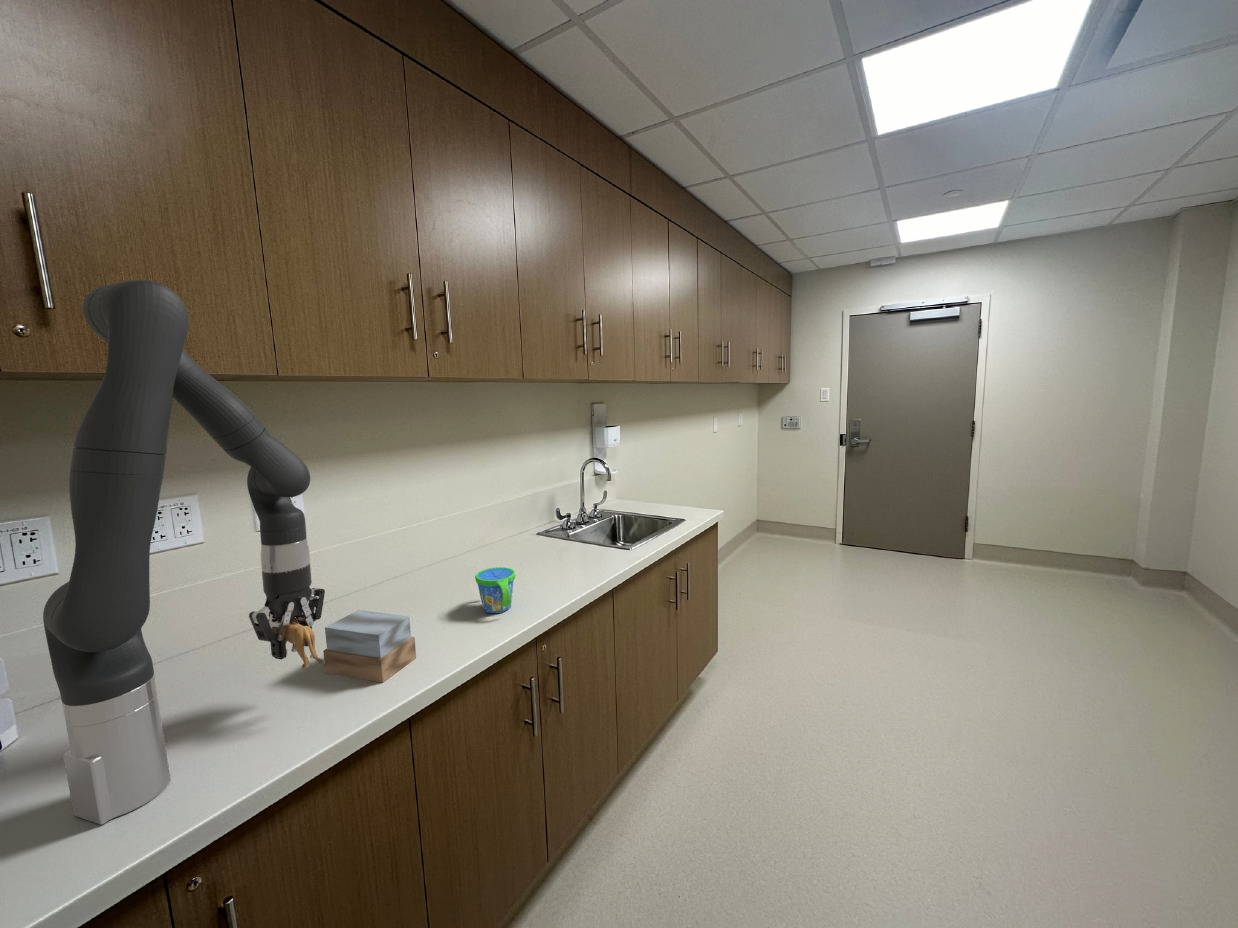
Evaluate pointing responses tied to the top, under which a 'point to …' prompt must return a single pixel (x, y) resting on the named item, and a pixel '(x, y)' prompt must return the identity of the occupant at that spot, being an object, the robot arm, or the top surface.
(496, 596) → the snack cup
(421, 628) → the top surface
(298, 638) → the lion figurine
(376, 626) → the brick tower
